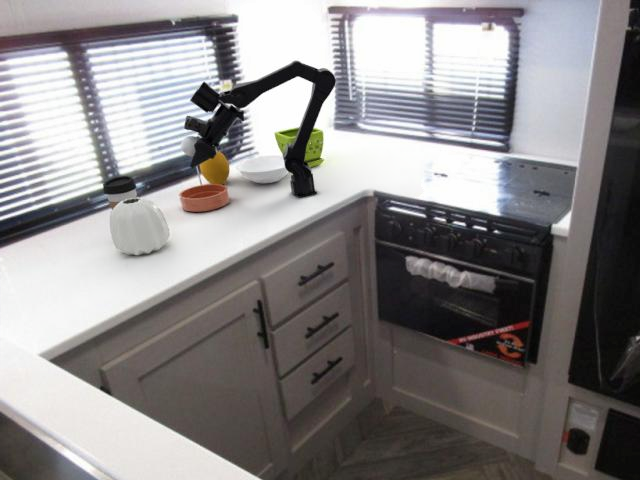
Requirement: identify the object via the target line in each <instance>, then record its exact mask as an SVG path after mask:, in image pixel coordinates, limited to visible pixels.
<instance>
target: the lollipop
mask: <svg viewBox="0 0 640 480" xmlns="http://www.w3.org/2000/svg"><path fill="white" fill-rule="evenodd" d="M196 137H197V136H194V135H188V136H185V137H184V138H183V139H182V141H181V143H180V149H181V150H182V152H183V153H184V154H185V155H186V156H188V157H193V156H194V154H195V152H196V151H195V147H194V143H195V142H196V140H197V139H198V138H196ZM195 168H196V171H197V172H196V173H197V176H198V180H199V185H201V186H202V185H203V182H202V178H201V174H200V169H199V165H198V166H196V167H195Z"/></svg>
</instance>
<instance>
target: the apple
mask: <svg viewBox="0 0 640 480" xmlns="http://www.w3.org/2000/svg"><path fill="white" fill-rule="evenodd" d="M199 171H200V173H201V175H202V176H203V178H204V179H205V180H206V182H208V184H221V185H224V184H226V182H227V181H228V178H229V175H230V163H229V161H228V159H227V158H226V156H225V155H224V154H223V152H221V151H219V150H217V154H216V156H215V157H214V158H213V159H211V158H210V159H208V160H207V161H205V162H203V163H201V164H199Z"/></svg>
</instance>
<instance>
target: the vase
mask: <svg viewBox="0 0 640 480" xmlns="http://www.w3.org/2000/svg"><path fill="white" fill-rule="evenodd" d="M109 227H110V236H111V239H112V243H113V245H114V247H115V249H117V250H119V251H120V252H122V253H124V254H125V255H128V256H129V255H131V256H132V255H135V256H142V255H144V254H145V255H147V254H148V255H149V254H150V253H152V252H156V251H159V250H160V249H161V248H162V247H164V246H166V244H167V242H168V239H169V238H170V234H171V232H170V227H169V224H168V221H167V219H166V217H165V215H164V213H163V211H162V210H161V208H160V207H159V206H158V205H157V204H155V203H154V202H152V201H151V200H148V199H146V198H142V197H139V196H138V197H137V198H130V199H125V200H123V201H121V202H120V203H118V204H117V205H116V206H115V207H114V209H113V210H112V209H111V211H110V213H109Z"/></svg>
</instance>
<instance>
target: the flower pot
mask: <svg viewBox="0 0 640 480" xmlns="http://www.w3.org/2000/svg"><path fill="white" fill-rule="evenodd" d="M299 127H300V126H298V127H294V128H293V127H292V128H288V129H284V130H279V131H275V132H274V138H275V141H276V145H277V146H278V149H279V151H280V152H281V154H282V155H283V153H284V151H285V149H286V144H287V143H289V144H290V145H291V144H292V143H293V141H294V140H295V138H296V135H297V132H298V130H299ZM323 151H324V130H322V129H319V128H317V127H314V128H313V131H312V133H311V136H310V139H309V141H308V144H307V147H306V154H305V160H304V161H306V162H307V163H308V164H309V166H310V168H312V167H316V166H320V165H321V164H322V163H323V162H324V158H322V157H321V156H322V154H323Z"/></svg>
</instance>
